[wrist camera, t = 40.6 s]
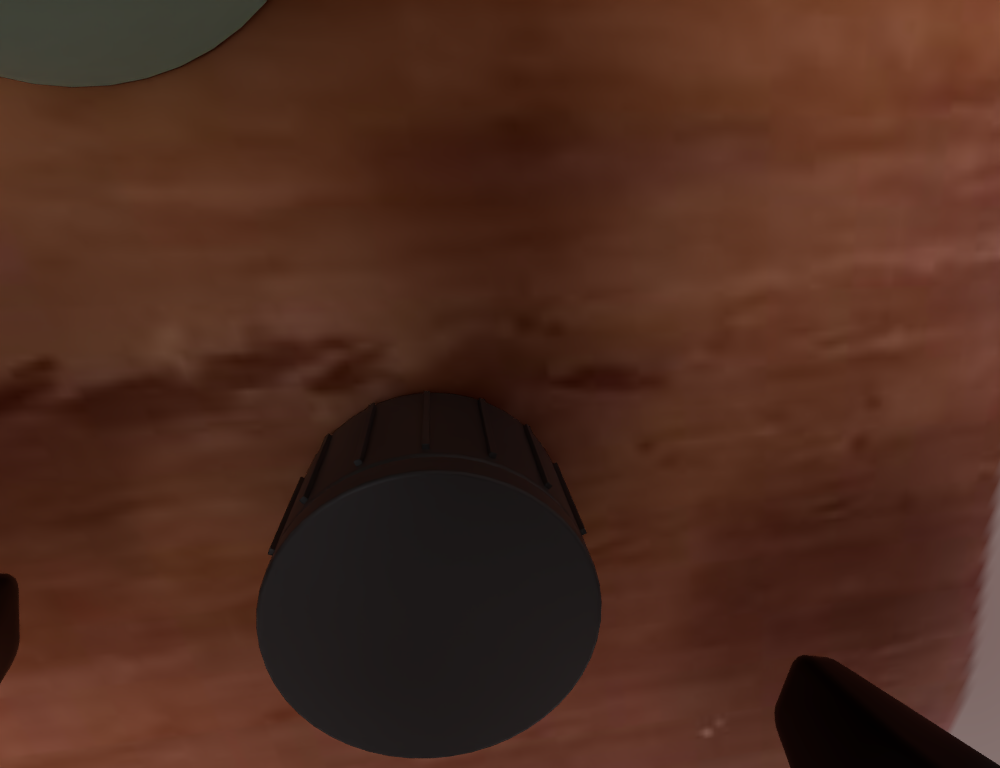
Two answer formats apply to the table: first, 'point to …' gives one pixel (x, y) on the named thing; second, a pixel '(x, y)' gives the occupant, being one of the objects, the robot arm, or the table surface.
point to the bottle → (111, 37)
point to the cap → (428, 582)
